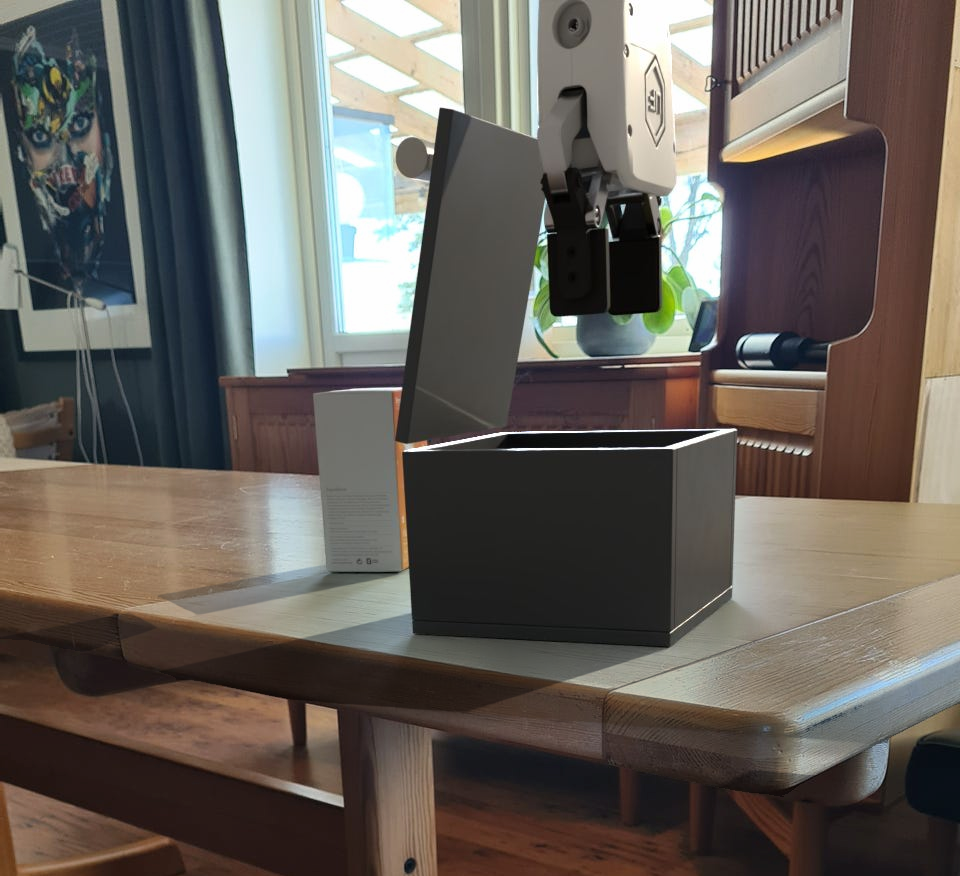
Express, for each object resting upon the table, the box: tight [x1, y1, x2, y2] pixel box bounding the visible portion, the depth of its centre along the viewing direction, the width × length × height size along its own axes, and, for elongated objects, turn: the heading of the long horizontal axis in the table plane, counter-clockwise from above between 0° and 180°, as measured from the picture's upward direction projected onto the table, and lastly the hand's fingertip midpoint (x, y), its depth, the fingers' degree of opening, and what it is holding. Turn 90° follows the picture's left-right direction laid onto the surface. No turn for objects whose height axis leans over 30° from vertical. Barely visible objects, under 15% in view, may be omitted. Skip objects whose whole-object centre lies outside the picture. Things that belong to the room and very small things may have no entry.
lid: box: [395, 107, 546, 444], centre depth 75 cm, size 16×15×5 cm
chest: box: [402, 428, 738, 648], centre depth 77 cm, size 16×15×10 cm
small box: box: [312, 386, 428, 573], centre depth 98 cm, size 8×6×13 cm
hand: (608, 314), depth 72 cm, fingers open, 9 cm apart
